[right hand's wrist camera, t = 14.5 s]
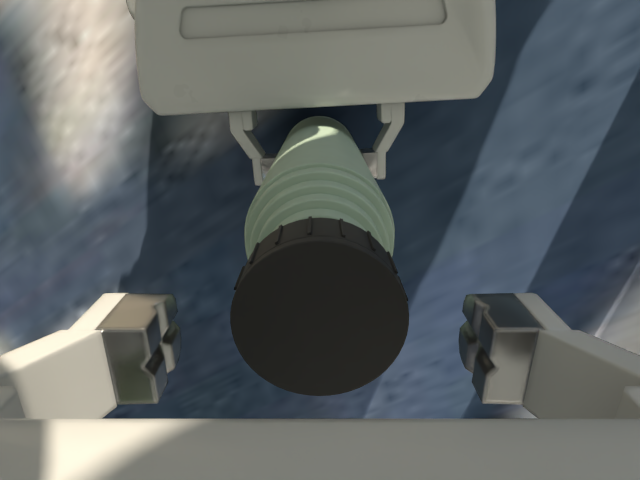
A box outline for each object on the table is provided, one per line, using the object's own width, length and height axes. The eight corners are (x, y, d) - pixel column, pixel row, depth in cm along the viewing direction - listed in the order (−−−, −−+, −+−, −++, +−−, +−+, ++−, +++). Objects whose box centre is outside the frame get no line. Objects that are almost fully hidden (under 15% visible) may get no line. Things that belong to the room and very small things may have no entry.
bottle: (368, 140, 32) (477, 280, 10) (331, 200, 34) (354, 433, 12) (306, 101, 31) (275, 163, 9) (271, 165, 33) (171, 348, 11)
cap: (430, 265, 11) (448, 295, 10) (345, 379, 13) (348, 422, 11) (290, 184, 11) (284, 203, 9) (214, 315, 12) (197, 351, 10)
